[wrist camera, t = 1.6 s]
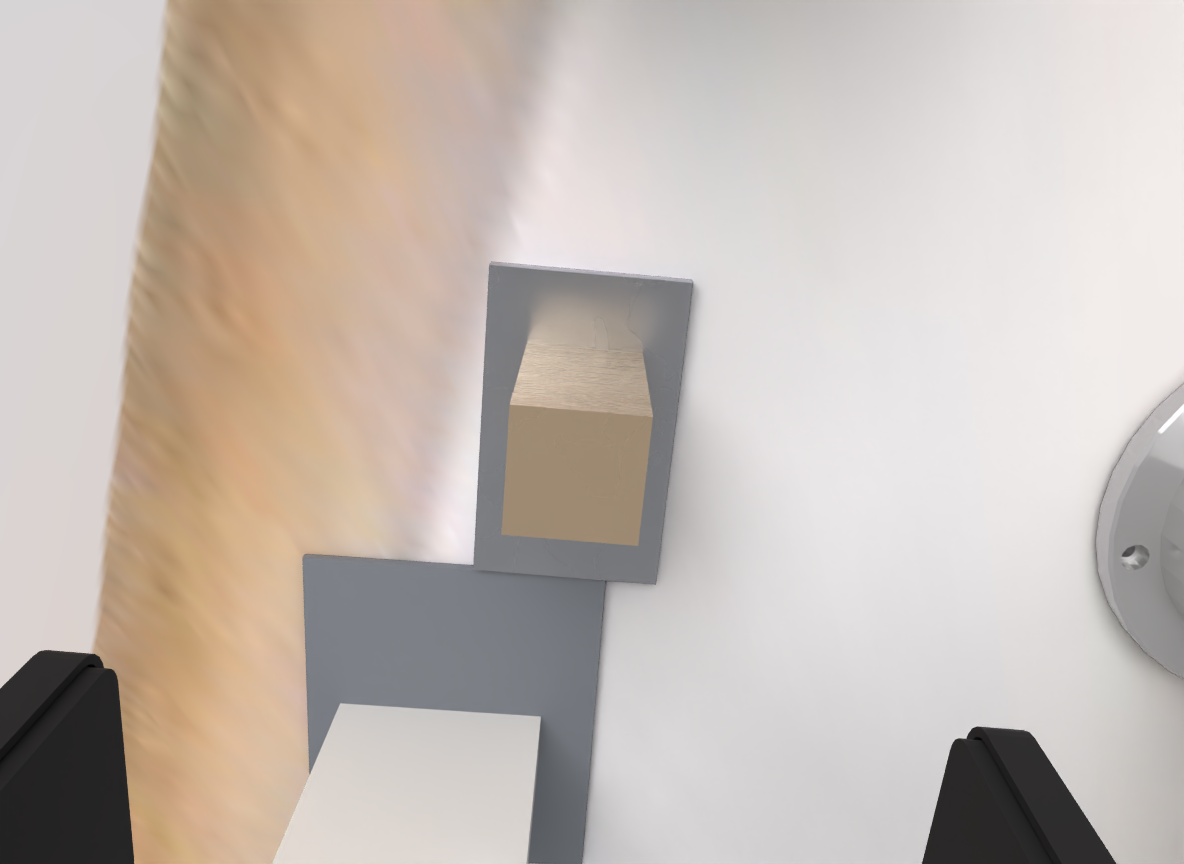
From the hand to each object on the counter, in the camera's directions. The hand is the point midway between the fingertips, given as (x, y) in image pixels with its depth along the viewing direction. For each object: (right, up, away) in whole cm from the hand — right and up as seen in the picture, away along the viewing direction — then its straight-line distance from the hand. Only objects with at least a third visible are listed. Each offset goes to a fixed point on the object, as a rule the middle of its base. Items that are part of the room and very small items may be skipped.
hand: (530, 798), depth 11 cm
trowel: (0, +5, +20) cm, 21 cm away
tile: (-5, -6, +23) cm, 25 cm away
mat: (-4, -6, +24) cm, 25 cm away
